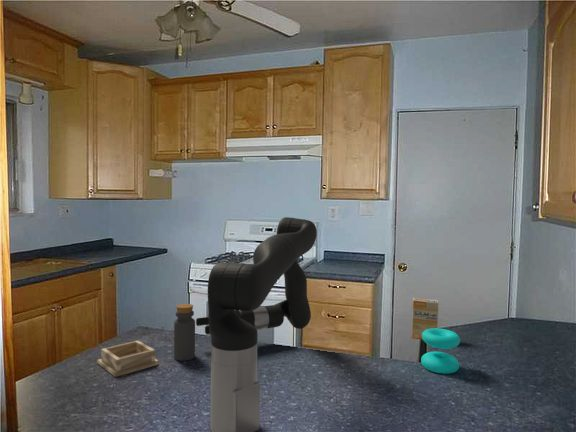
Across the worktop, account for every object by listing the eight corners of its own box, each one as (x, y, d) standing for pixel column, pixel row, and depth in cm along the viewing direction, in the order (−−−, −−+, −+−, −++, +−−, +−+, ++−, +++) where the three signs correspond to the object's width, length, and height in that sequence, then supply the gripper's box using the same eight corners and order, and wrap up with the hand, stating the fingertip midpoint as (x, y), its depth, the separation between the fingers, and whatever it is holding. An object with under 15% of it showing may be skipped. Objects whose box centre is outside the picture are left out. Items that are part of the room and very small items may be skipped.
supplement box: (411, 339, 140) (412, 300, 139) (411, 334, 144) (412, 297, 144) (437, 341, 137) (438, 302, 137) (436, 337, 142) (437, 299, 141)
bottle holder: (158, 364, 115) (158, 350, 115) (115, 377, 107) (115, 361, 107) (139, 352, 124) (139, 339, 124) (97, 363, 115) (97, 348, 115)
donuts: (414, 329, 118) (439, 325, 123) (413, 364, 118) (438, 358, 123) (442, 340, 109) (468, 335, 114) (440, 378, 110) (467, 371, 114)
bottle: (172, 354, 122) (172, 304, 122) (192, 352, 125) (192, 302, 124) (176, 362, 117) (176, 309, 116) (196, 359, 119) (197, 307, 119)
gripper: (242, 302, 137) (193, 307, 129) (261, 312, 124) (208, 319, 116) (242, 324, 137) (193, 331, 129) (260, 337, 125) (208, 346, 117)
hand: (200, 326), depth 123 cm, fingers open, 8 cm apart
